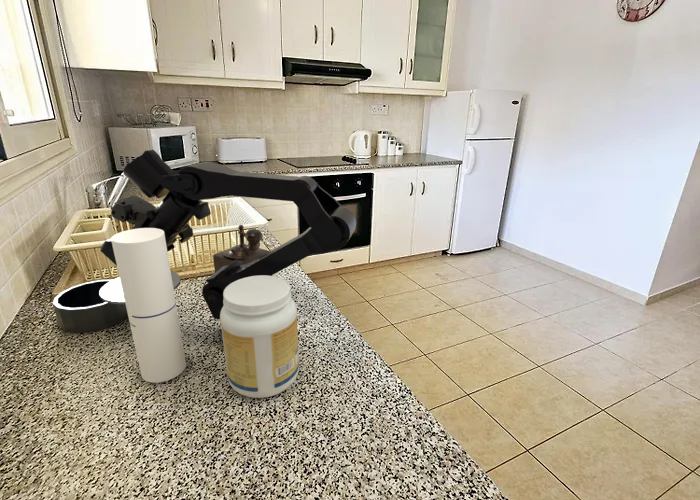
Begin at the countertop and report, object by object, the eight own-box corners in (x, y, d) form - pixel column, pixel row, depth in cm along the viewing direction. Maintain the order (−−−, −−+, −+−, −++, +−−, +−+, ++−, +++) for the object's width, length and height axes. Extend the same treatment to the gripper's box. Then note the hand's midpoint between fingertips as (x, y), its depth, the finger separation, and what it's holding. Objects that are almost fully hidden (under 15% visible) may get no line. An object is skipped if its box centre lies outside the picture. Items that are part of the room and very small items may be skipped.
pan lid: (195, 277, 81) (189, 240, 78) (149, 311, 68) (140, 268, 65) (137, 271, 84) (129, 235, 81) (81, 302, 71) (69, 260, 68)
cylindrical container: (169, 385, 62) (142, 245, 53) (131, 379, 63) (99, 240, 54) (194, 359, 68) (174, 230, 59) (159, 353, 70) (134, 226, 61)
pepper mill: (213, 289, 94) (204, 221, 87) (245, 274, 103) (240, 211, 96) (258, 307, 87) (252, 233, 80) (289, 288, 95) (286, 221, 89)
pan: (147, 303, 87) (143, 283, 85) (99, 336, 74) (93, 313, 72) (97, 297, 89) (92, 276, 87) (43, 327, 77) (35, 304, 75)
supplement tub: (291, 348, 72) (287, 268, 66) (307, 390, 62) (305, 300, 55) (225, 361, 68) (215, 278, 62) (230, 409, 57) (219, 314, 51)
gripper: (171, 174, 76) (135, 223, 82) (96, 194, 59) (57, 253, 65) (211, 214, 77) (172, 259, 83) (149, 245, 60) (106, 298, 66)
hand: (131, 265), depth 75 cm, fingers closed on pan lid, 2 cm apart
